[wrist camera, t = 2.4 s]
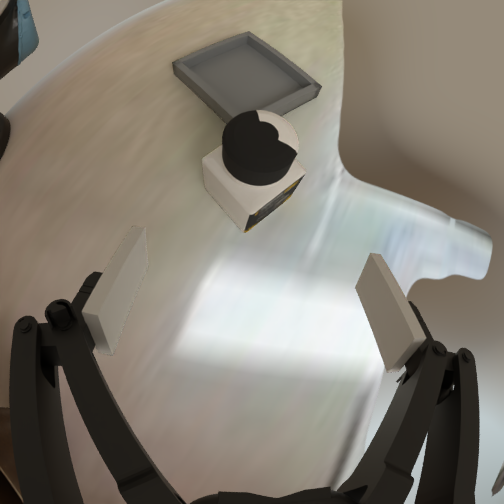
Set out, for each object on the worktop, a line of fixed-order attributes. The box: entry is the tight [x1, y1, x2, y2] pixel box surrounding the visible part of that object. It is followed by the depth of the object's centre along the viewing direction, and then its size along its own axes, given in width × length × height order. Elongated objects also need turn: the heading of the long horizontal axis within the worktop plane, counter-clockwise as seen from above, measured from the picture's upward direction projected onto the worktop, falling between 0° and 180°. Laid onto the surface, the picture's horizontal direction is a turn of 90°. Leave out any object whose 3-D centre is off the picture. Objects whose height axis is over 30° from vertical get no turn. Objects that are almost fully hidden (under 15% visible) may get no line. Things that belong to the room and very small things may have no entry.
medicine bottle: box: [202, 110, 306, 233], centre depth 26 cm, size 7×7×12 cm
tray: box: [172, 31, 322, 124], centre depth 33 cm, size 16×14×2 cm
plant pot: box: [0, 407, 23, 504], centre depth 15 cm, size 15×15×16 cm
